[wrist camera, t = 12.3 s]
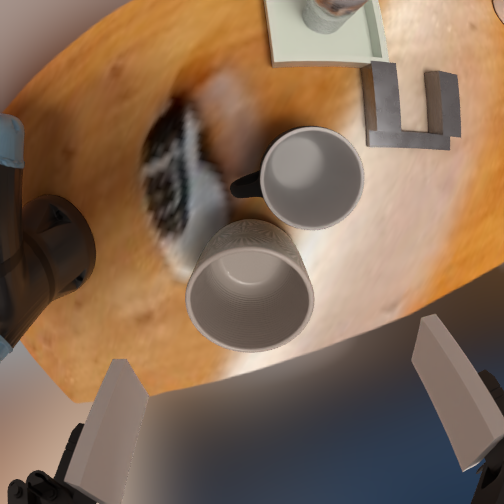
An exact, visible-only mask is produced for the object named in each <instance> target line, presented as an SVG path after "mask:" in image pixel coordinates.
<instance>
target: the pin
mask: <svg viewBox="0 0 504 504" xmlns="http://www.w3.org/2000/svg"><path fill="white" fill-rule="evenodd" d="M367 1H368V0H307V3H306V5H305V7H304V9H303V12H302V18H303V21H304V23H305V24H306V26H307V27H308V28H309V29H311V30H312V31H314V32H316V33H319V34H332V33H334V32H336V31H337V30H338V29H339V28H340V27H341V26H342V25H343V24H344V23H345V22H346V21H347V20H348V19H349V18H350V17H352V16H353V15H354V14H355V13H356V12H357V11H358V10H359V9H360V8H361V7H362V6H363V5H364V4H365V3H366V2H367Z"/></svg>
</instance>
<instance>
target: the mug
mask: <svg viewBox="0 0 504 504" xmlns="http://www.w3.org/2000/svg"><path fill="white" fill-rule="evenodd" d="M363 187H364V169H363V165H362V162H361V159H360V157H359V154H358V153H357V151H356V149H355V148H354V147H353V145H352V144H351V143H350V142H349V141H348V140H347V139H346V138H344V137H343V136H342V135H340V134H339V133H337V132H335V131H333V130H330V129H327V128H324V127H318V126H302V127H296V128H293V129H290V130H287V131H285V132H283V133H282V134H280V135H279V136H277V137H276V138H275V139H274V140H273V141H272V142H271V143H270V145H269V146H268V147H267V149H266V151H265V153H264V155H263V158H262V161H261V165H260V170H259V171H257V172H255V173H252V174H249V175H246V176H244V177H242V178H240V179H238V180H236V181H234V182H233V183H232V184H231V186H230V190H231V193H232V195H233V196H235V197H237V198H249V197H262V198H264V200H265V202H266V204H267V206H268V207H269V209H270V210H271V211H272V212H273V213H274V215H276V216H277V217H278V218H279V219H280V220H281V221H283V222H285V223H286V224H288V225H290V226H293V227H295V228H299V229H304V230H320V229H325V228H328V227H331V226H333V225H335V224H337V223H339V222H341V221H342V220H343V219H345V218H346V217H347V216H348V215H349V214H350V213H351V212H352V211H353V209H354V208H355V207H356V205H357V203H358V202H359V200H360V197H361V195H362V191H363Z"/></svg>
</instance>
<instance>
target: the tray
mask: <svg viewBox="0 0 504 504" xmlns="http://www.w3.org/2000/svg"><path fill="white" fill-rule="evenodd" d="M306 3H307V0H264V6H265V13H266V20H267V28H268V35H269V43H270V51H271V59H272V67H273V68H278V67H305V66H328V67H354V68H362V67H364V66H366V65H368V64H370V63H371V61H381V62H389V56H388V50H387V43H386V37H385V31H384V26H383V21H382V16H381V11H380V6H379V2H378V0H368V1H367V2H366V3H365V4H364V5H363V6H362V7H361V8H360V9H359V10H358V11H357V12H356V13H355V14H354V15H353V16H352V17H350V18H349V19H348V20H347V21H346V22H345V23H344V24H343V25H342V26H341V27H340V28H339V29H338V30H337V31H336V32H334V33H332V34H319V33H316V32H314V31H312V30H311V29H309V28H308V27H307V26H306V24H305V23H304V21H303V18H302V12H303V9H304V7H305V5H306Z"/></svg>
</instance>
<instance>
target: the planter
mask: <svg viewBox="0 0 504 504" xmlns="http://www.w3.org/2000/svg"><path fill="white" fill-rule="evenodd" d="M185 302H186V308H187V312H188V315H189V317H190V319H191V321H192V323H193V324H194V326H195V327H196V328H197V330H198V331H199V332H200V333H201V334H202V335H203V336H205V337H206V338H207V339H208V340H210V341H211V342H213V343H215V344H217V345H219V346H221V347H223V348H226V349H229V350H233V351H238V352H251V353H252V352H263V351H268V350H272V349H275V348H278V347H280V346H282V345H284V344H286V343H288V342H290V341H291V340H292V339H294V338H295V337H296V336H297V335H299V334H300V333H301V331H302V330H303V329H304V328H305V326H306V325H307V323H308V322H309V320H310V318H311V315H312V312H313V308H314V291H313V287H312V284H311V281H310V279H309V276H308V274H307V271H306V268H305V266H304V263H303V261H302V258H301V256H300V254H299V252H298V250H297V248H296V246H295V244H294V243H293V241H292V240H291V239H290V237H289V236H288V235H287V234H286V233H285V232H284V231H283V230H281V229H280V228H279V227H277V226H275V225H273V224H271V223H269V222H266V221H262V220H257V219H245V220H239V221H236V222H233V223H231V224H228V225H227V226H225V227H223V228H222V229H220V230H219V231H218V232H217V233H216V234H215V235H214V236H213V237H212V238H211V240H210V241H209V242H208V244H207V245H206V247H205V249H204V250H203V252H202V254H201V256H200V258H199V260H198V262H197V264H196V266H195V268H194V271H193V273H192V275H191V277H190V279H189V282H188V284H187V288H186V294H185Z"/></svg>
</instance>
